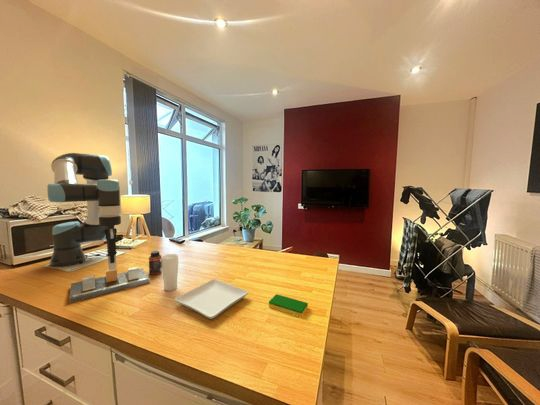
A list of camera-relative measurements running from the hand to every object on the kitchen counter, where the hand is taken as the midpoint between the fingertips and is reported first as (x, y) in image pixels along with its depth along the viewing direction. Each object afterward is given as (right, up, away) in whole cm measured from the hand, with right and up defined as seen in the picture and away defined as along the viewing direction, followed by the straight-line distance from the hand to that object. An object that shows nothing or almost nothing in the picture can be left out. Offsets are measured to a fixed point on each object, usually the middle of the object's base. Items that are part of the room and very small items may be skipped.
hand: (112, 269), depth 93 cm
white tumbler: (+24, -10, +4) cm, 26 cm away
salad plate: (+45, -12, -6) cm, 47 cm away
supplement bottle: (+8, -8, +21) cm, 24 cm away
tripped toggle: (-5, -7, +6) cm, 10 cm away
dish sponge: (+76, -13, -9) cm, 77 cm away
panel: (-5, -9, +6) cm, 12 cm away
